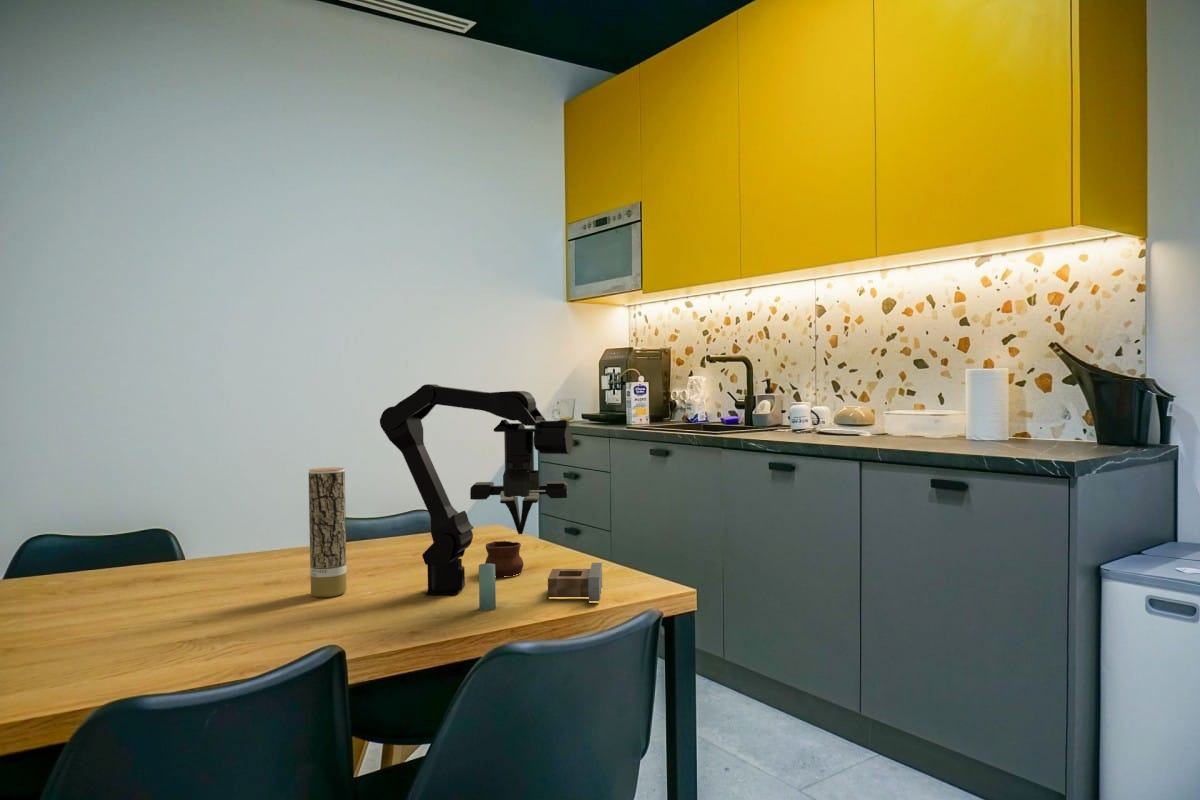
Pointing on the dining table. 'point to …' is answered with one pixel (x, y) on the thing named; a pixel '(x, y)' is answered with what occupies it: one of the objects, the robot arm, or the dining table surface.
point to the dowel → (487, 587)
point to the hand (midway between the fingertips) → (520, 533)
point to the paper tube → (327, 531)
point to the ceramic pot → (504, 557)
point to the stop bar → (595, 582)
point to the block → (568, 583)
